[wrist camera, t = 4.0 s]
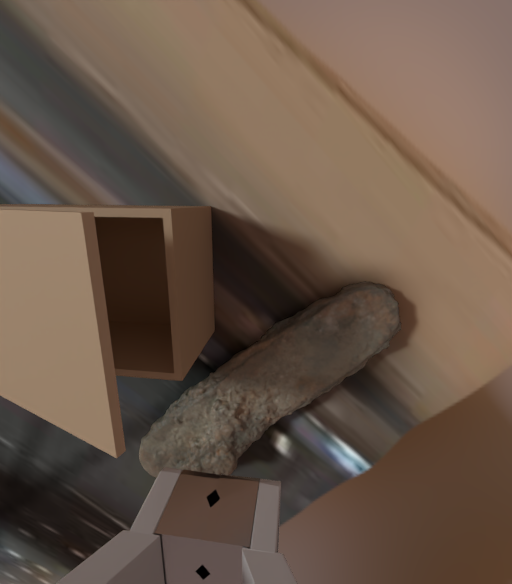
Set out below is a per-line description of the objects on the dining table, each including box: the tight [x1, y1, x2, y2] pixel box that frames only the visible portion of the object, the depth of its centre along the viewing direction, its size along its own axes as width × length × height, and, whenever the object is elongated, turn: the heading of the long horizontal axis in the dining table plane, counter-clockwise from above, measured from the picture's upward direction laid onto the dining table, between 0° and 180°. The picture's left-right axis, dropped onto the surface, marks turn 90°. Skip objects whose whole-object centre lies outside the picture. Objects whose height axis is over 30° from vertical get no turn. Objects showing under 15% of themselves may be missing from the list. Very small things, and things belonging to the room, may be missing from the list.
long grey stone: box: [139, 281, 401, 478], centre depth 33 cm, size 35×5×10 cm
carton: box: [0, 204, 215, 381], centre depth 28 cm, size 13×20×10 cm, turn 89°
